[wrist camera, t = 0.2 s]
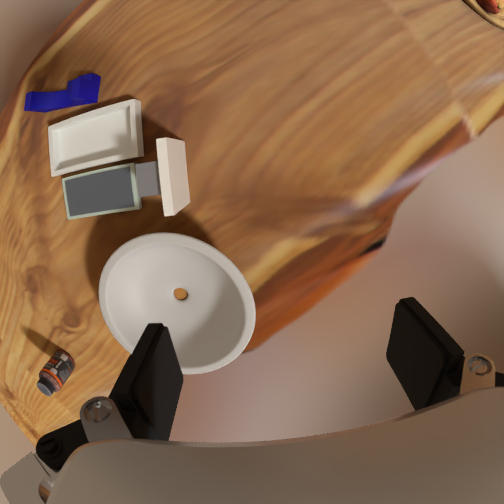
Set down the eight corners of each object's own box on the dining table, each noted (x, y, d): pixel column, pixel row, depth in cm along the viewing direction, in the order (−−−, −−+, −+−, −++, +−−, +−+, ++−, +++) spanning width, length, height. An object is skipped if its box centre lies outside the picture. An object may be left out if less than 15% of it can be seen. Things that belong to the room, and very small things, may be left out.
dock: (56, 127, 34) (48, 126, 32) (140, 101, 34) (134, 98, 32) (59, 175, 37) (51, 176, 35) (144, 156, 37) (138, 156, 35)
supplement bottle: (63, 346, 49) (39, 377, 38) (80, 365, 51) (59, 398, 40) (52, 352, 50) (29, 381, 39) (68, 370, 52) (47, 401, 41)
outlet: (155, 145, 37) (130, 143, 28) (184, 141, 36) (166, 137, 28) (161, 205, 40) (139, 219, 31) (190, 202, 39) (174, 215, 31)
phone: (65, 177, 38) (61, 178, 36) (136, 162, 37) (133, 162, 36) (71, 218, 40) (67, 220, 39) (142, 207, 40) (138, 209, 38)
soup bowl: (237, 361, 49) (236, 386, 43) (115, 331, 47) (101, 352, 41) (271, 240, 42) (275, 255, 35) (120, 207, 40) (100, 216, 33)
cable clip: (101, 77, 32) (82, 68, 27) (97, 102, 34) (77, 97, 28) (48, 89, 32) (27, 84, 26) (45, 112, 33) (24, 110, 28)
